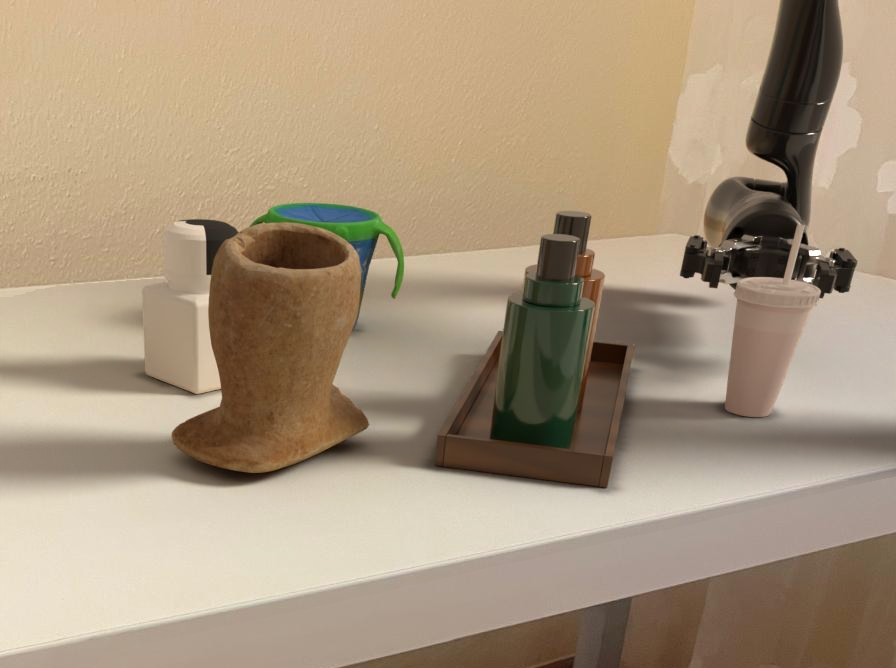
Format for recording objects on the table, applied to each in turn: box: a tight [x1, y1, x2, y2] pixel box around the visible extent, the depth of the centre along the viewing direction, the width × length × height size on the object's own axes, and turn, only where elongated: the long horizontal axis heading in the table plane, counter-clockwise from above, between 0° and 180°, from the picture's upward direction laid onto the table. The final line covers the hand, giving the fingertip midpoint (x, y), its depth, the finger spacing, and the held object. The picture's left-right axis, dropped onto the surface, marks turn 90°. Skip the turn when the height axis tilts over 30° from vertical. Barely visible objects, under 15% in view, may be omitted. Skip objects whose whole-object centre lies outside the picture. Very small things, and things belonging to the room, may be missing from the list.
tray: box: [434, 330, 635, 489], centre depth 96 cm, size 31×12×2 cm, turn 164°
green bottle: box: [489, 233, 595, 449], centre depth 84 cm, size 6×6×14 cm
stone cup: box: [171, 222, 370, 474], centre depth 82 cm, size 15×12×15 cm
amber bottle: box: [521, 210, 606, 413], centre depth 92 cm, size 6×6×14 cm
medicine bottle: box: [141, 218, 240, 395], centre depth 97 cm, size 7×7×12 cm
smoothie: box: [724, 224, 821, 418], centre depth 95 cm, size 6×6×14 cm
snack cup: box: [248, 202, 405, 329], centre depth 113 cm, size 16×10×10 cm
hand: (769, 280), depth 100 cm, fingers open, 8 cm apart
